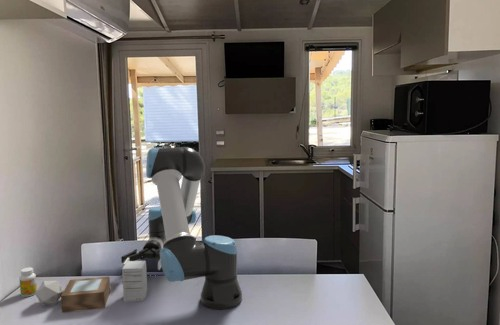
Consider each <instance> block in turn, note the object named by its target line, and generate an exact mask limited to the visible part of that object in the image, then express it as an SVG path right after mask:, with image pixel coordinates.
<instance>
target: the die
mask: <svg viewBox="0 0 500 325" xmlns="http://www.w3.org/2000/svg"><path fill="white" fill-rule="evenodd" d="M64 290H65V289H63V287H62V285H61V284H60V282H59V280H43V282H42V283H41V284H40V285H39V287H38V288H37V291H36V292H35V294H34V296H36V298H37V299H38V301H39V303H40V305H57V303H58V301H59V300H61V295H62V293H63V292H64Z"/></svg>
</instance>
